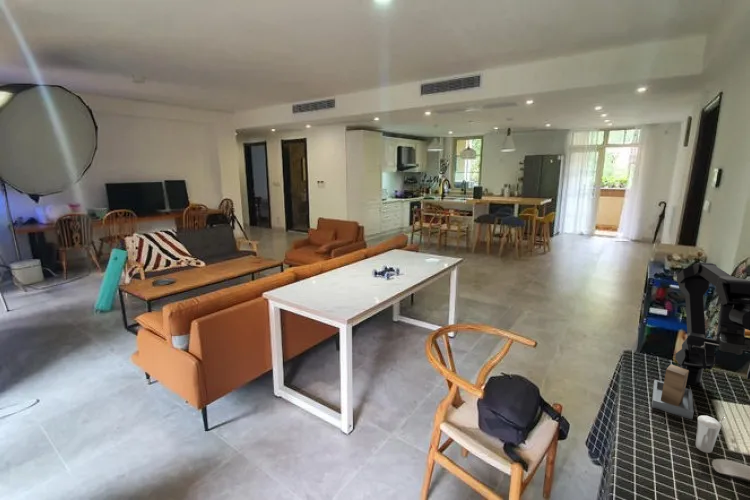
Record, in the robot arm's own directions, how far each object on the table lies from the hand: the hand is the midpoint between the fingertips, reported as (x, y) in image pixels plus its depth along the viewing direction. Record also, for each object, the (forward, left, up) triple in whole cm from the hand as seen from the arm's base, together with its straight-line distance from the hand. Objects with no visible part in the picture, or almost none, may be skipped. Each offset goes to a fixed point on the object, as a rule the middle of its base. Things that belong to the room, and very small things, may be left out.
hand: (725, 374), depth 107 cm
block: (+2, -11, -13) cm, 17 cm away
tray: (+1, -11, -13) cm, 17 cm away
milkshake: (+21, -4, -14) cm, 25 cm away
